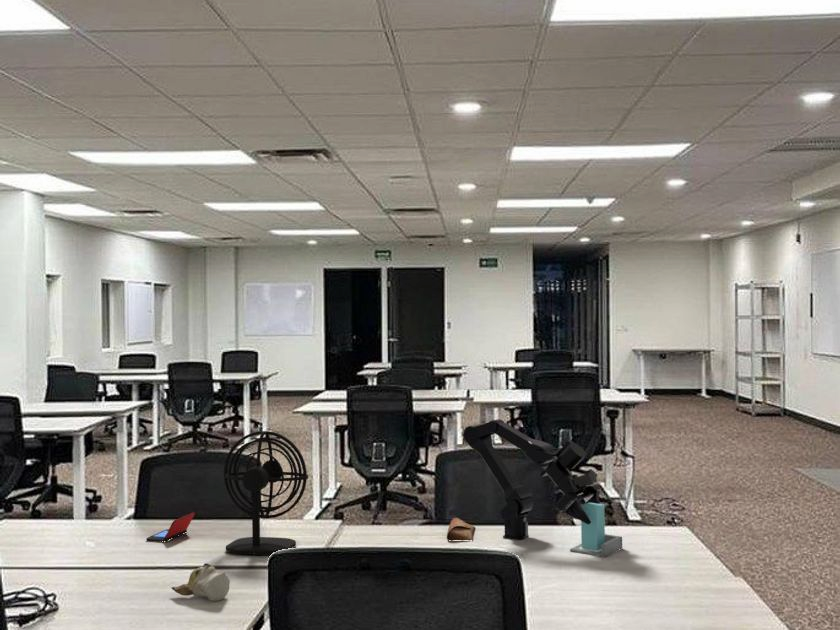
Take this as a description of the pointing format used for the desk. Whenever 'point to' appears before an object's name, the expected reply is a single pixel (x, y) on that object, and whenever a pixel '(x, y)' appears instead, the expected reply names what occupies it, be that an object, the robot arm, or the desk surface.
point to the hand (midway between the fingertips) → (597, 520)
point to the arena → (602, 547)
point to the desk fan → (257, 481)
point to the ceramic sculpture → (205, 584)
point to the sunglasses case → (460, 530)
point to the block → (593, 527)
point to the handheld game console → (173, 529)
